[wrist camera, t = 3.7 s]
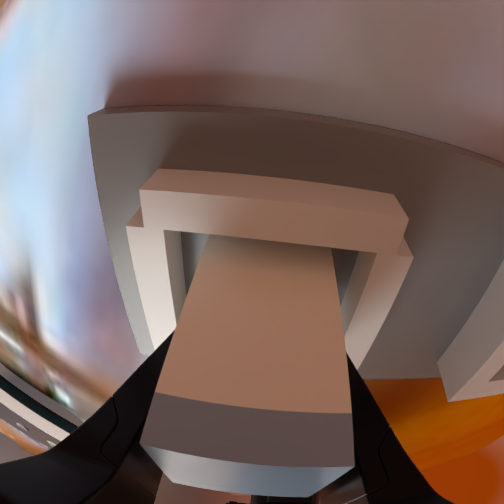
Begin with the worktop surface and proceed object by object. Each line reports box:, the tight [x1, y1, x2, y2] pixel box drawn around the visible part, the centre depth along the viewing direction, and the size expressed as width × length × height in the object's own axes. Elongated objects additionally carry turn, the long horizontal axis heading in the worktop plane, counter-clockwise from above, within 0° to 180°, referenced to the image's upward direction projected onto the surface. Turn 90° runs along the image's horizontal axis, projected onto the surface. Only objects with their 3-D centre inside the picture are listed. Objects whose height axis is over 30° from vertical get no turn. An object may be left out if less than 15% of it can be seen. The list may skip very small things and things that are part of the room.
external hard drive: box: [0, 375, 78, 441], centre depth 30 cm, size 24×12×2 cm, turn 47°
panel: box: [88, 105, 504, 402], centre depth 11 cm, size 12×26×4 cm, turn 86°
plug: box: [140, 234, 355, 497], centre depth 9 cm, size 4×4×7 cm
